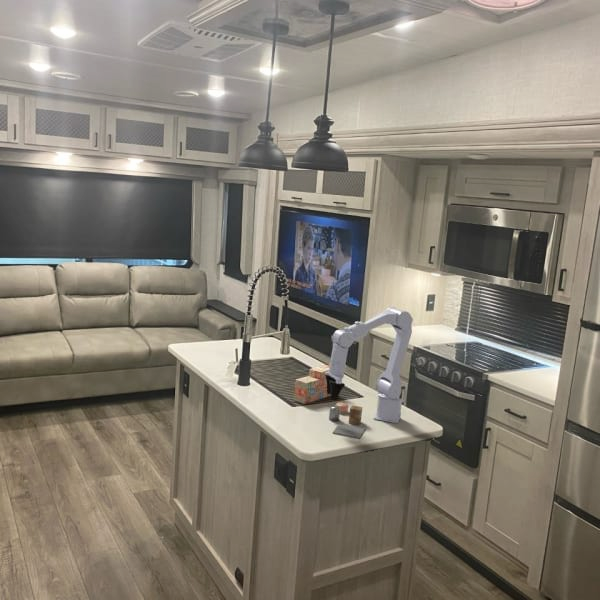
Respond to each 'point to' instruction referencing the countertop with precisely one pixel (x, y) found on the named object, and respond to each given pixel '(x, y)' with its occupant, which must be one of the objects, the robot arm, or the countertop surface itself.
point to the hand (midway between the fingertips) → (331, 397)
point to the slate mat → (349, 430)
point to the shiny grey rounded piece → (334, 413)
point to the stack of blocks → (312, 386)
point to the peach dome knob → (343, 407)
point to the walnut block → (355, 415)
